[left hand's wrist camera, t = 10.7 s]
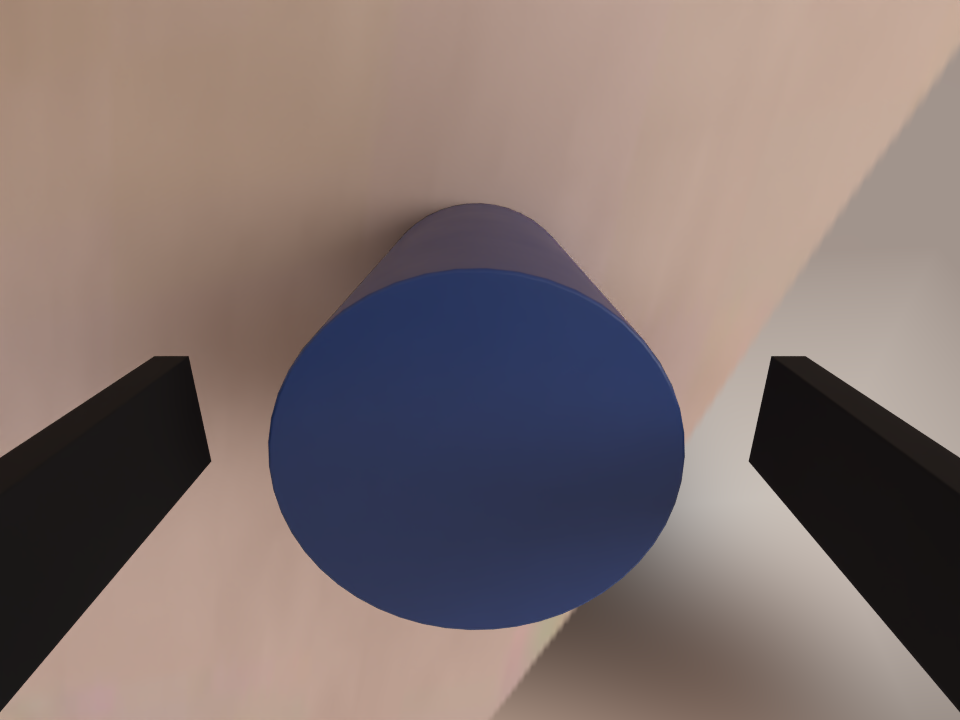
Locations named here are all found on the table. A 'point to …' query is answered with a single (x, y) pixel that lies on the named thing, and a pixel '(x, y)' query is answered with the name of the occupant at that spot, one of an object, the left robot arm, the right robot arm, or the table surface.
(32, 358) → the table surface
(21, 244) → the table surface
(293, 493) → the canister
